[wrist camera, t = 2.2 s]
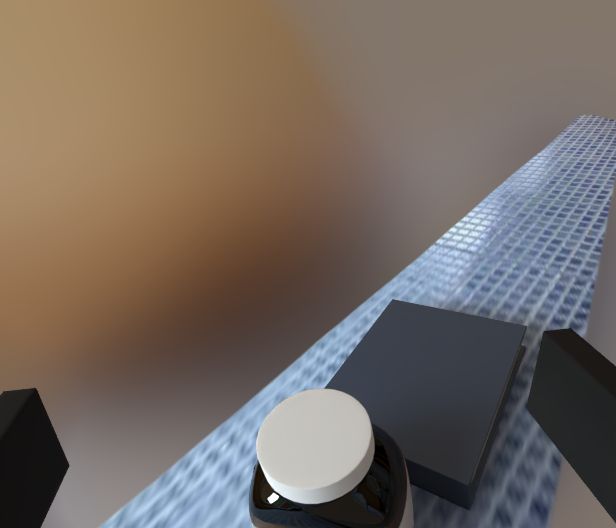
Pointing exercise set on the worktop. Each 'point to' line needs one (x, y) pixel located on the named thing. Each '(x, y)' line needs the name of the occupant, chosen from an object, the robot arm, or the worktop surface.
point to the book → (436, 390)
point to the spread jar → (327, 467)
